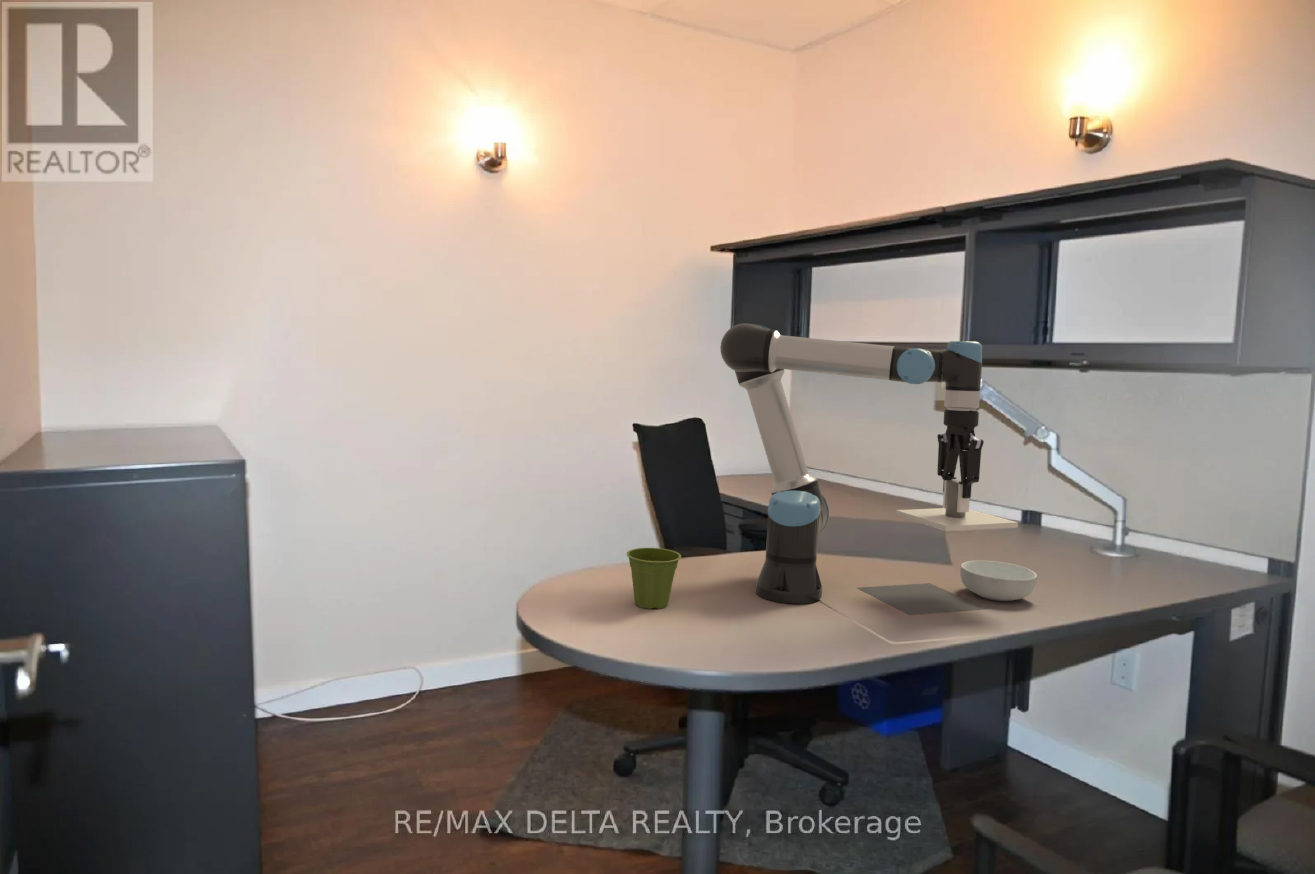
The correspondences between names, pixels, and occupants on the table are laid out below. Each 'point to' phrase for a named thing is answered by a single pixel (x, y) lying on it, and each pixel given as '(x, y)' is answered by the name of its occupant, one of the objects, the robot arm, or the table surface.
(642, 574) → the plant pot
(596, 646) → the table surface
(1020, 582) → the cereal bowl
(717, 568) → the table surface
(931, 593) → the mat
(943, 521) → the lid
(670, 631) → the table surface
